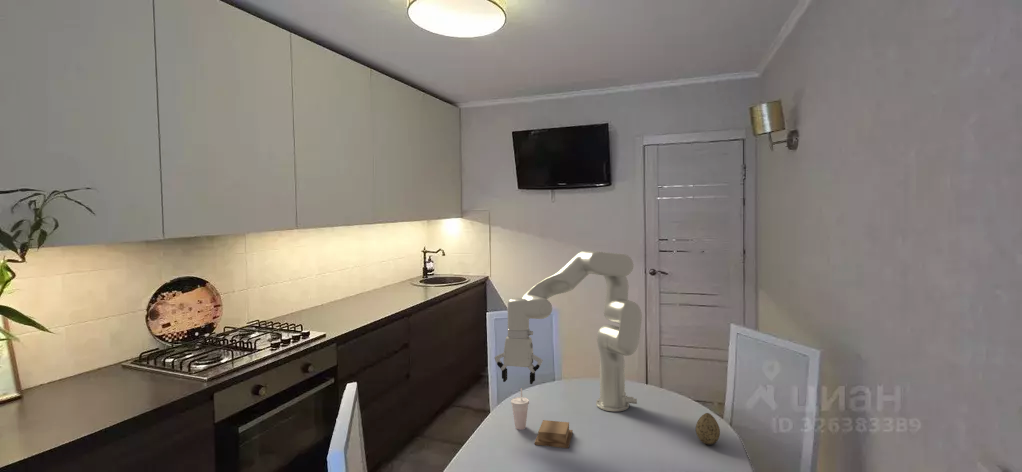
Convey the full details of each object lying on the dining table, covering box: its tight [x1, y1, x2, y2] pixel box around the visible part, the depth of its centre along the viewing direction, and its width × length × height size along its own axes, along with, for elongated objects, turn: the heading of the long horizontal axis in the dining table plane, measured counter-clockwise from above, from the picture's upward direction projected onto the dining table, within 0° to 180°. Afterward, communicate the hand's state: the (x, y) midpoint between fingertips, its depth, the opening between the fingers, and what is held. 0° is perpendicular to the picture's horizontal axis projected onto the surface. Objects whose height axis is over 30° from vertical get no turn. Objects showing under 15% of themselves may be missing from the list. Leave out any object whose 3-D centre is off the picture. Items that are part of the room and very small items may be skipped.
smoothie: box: [510, 387, 530, 431], centre depth 163 cm, size 6×6×14 cm
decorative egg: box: [695, 412, 721, 446], centre depth 149 cm, size 7×7×10 cm
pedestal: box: [534, 419, 573, 449], centre depth 155 cm, size 11×11×4 cm
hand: (518, 381), depth 163 cm, fingers open, 9 cm apart
